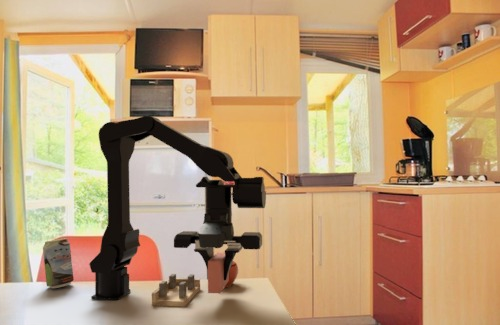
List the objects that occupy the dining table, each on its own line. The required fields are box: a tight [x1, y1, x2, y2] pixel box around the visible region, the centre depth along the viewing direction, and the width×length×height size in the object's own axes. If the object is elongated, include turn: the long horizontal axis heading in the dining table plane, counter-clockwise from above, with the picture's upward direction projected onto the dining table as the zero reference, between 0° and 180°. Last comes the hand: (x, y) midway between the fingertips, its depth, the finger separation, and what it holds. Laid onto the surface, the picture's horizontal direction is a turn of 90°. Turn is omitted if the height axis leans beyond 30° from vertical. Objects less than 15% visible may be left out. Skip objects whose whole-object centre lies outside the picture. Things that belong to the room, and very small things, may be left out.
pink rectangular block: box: [207, 251, 229, 294], centre depth 81 cm, size 9×2×6 cm, turn 172°
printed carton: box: [42, 237, 74, 289], centre depth 93 cm, size 6×7×12 cm
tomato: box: [224, 260, 239, 288], centre depth 93 cm, size 7×7×8 cm
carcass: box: [151, 273, 201, 307], centre depth 85 cm, size 7×12×4 cm, turn 172°
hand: (218, 279), depth 81 cm, fingers closed on pink rectangular block, 2 cm apart
